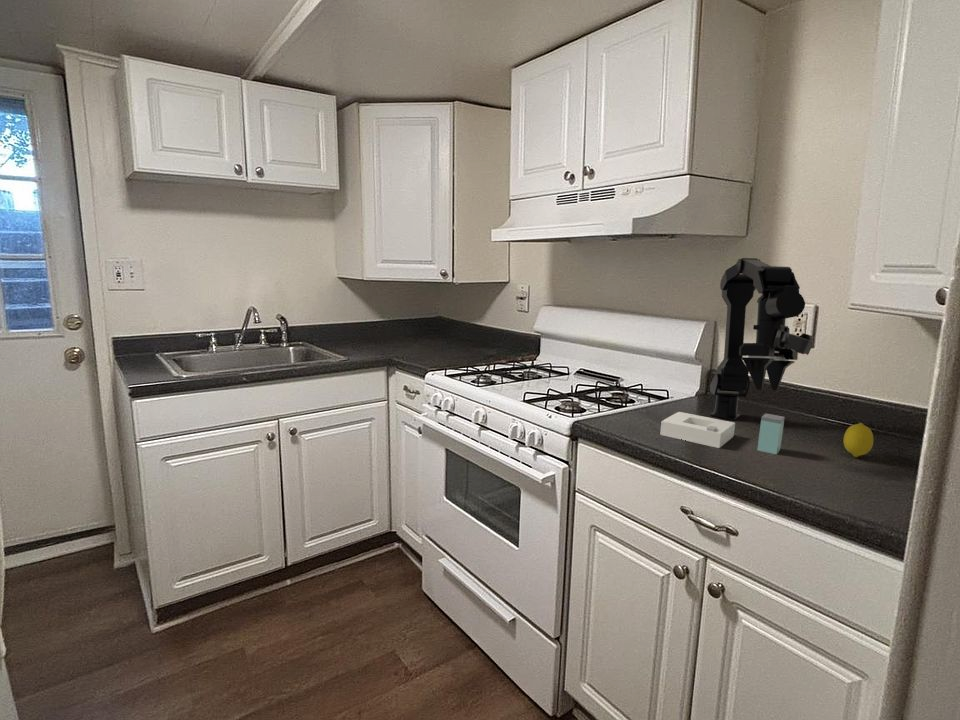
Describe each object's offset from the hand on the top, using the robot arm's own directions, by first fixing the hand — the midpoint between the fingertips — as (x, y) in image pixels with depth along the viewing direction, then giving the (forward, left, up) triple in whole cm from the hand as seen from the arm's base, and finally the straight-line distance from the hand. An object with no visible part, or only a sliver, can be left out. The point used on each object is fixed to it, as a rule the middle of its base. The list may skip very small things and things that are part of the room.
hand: (767, 389), depth 126 cm
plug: (-1, +2, -14) cm, 14 cm away
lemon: (-10, +18, -14) cm, 25 cm away
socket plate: (0, -14, -14) cm, 20 cm away
